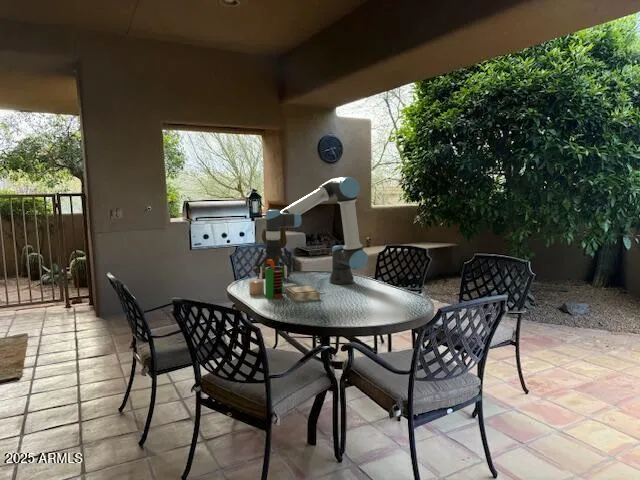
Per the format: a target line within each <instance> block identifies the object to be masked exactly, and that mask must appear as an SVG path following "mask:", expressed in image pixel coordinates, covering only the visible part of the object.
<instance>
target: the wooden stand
mask: <svg viewBox="0 0 640 480" xmlns="http://www.w3.org/2000/svg"><path fill="white" fill-rule="evenodd" d="M261 240H262V242H263V244H264V245H265V246H266V240H267V239H266V228H263V229H262V233H261ZM287 243H288V241H287V232H286V227H283V228H280V248H283V247H284V248H286V247H287ZM283 254H284V253H283V252H282V250H281V252H280V255H281V256H282V257H283ZM267 260H273V261H274V266H278V267H283V276H284V266H285V265H283V266H282V265H281V266H280V263H279V262H280V260H281V259H280V258H279V257H278V256H277V257H274V256H273V257H270V256H269V257H268V258H267V259H266V261H265V262H264V263H263V265H262V266H261V267H262V279H265V268H266V267H271V264H267ZM290 271H291V270H290V268H289V271H288V272H287V277H290V276H291V273H290ZM253 272H254V273H256V276H257V278H259V273H258V267H255V268H253Z"/></svg>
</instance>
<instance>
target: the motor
mask: <svg viewBox="0 0 640 480" xmlns="http://www.w3.org/2000/svg"><path fill="white" fill-rule="evenodd" d="M267 264H271V267H266V268H265V278H264V279H265V281H264V294H265V295H264V296H265V298H266V299H269V300H274V299H281V298H283V296H284V295H283V294H284V293H283V285H284V284H283V282H284V281H283V280H284V279H283V278H284V277H283V267H278V266H274V261H273V260H267Z"/></svg>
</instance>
